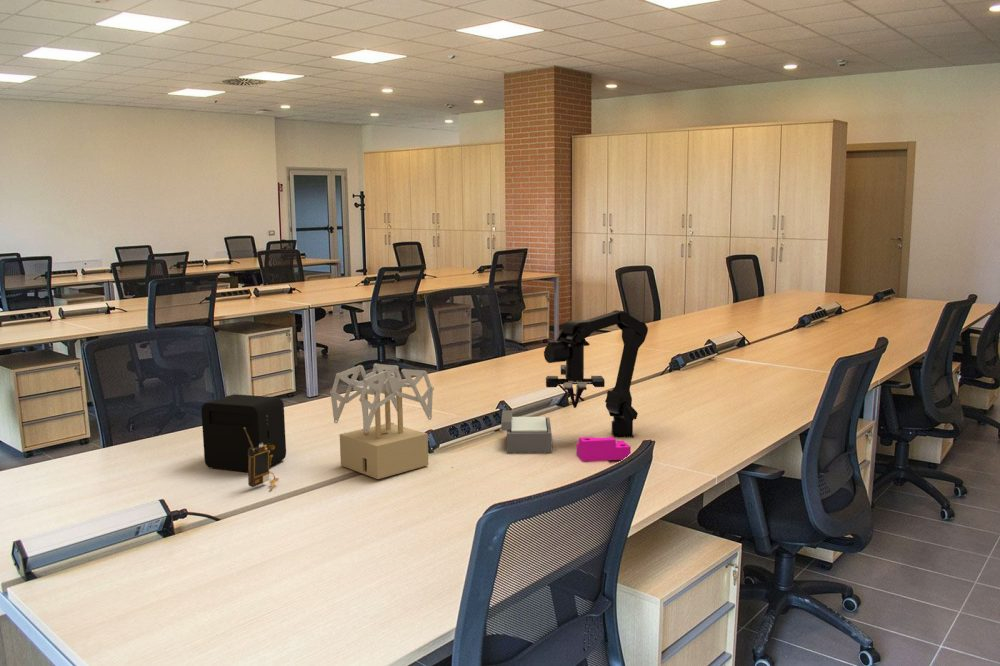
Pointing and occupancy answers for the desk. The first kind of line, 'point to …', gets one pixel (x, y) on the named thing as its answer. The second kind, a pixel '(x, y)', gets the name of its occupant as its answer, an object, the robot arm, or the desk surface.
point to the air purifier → (230, 439)
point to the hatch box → (530, 441)
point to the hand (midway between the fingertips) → (574, 407)
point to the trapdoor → (522, 423)
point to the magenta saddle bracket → (601, 449)
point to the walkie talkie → (259, 464)
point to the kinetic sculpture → (381, 444)
